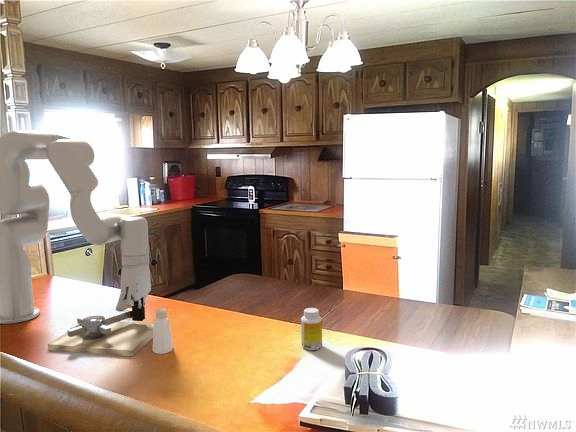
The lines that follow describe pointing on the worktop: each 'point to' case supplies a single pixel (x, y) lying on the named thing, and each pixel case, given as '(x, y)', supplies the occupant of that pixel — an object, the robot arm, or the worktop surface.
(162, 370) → the worktop surface
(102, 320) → the capstan
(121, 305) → the flask
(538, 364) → the worktop surface
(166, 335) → the pepper shaker
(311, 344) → the supplement bottle
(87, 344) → the wooden flat board
